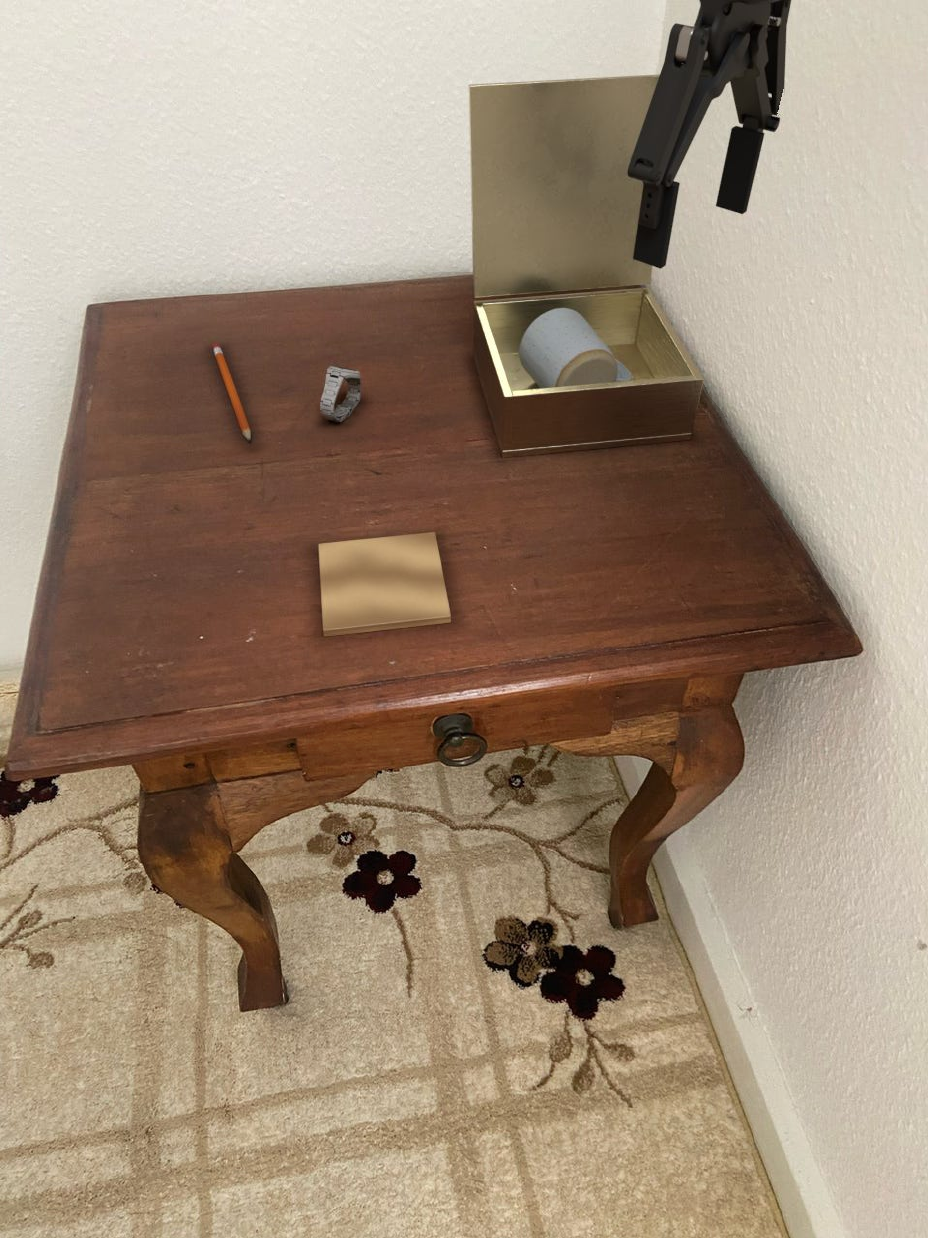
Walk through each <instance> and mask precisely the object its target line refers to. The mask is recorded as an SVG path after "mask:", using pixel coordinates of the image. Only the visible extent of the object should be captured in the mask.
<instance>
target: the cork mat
mask: <svg viewBox="0 0 928 1238" xmlns="http://www.w3.org/2000/svg"><path fill="white" fill-rule="evenodd" d="M317 546H318V561H319V562H318V565H319V581H320V583H319V584H320V599H321V601H320V602H321V619H322V633H323V636H324V637H325V638H326V637H327V638H328V637H335V636H345V635H353V634H361V633H370V632H380V631H389V630H397V629H406V628H415V627H423V626H433V625H442V624H450V623H452V615H451V614H452V613H451V608H450V604H449V603H450V602H449V598H448V592H447V587H446V582H445V578H444V577H445V576H444V571H443V567H442V561H441V556H440V550H439V545H438V540H437V534H436V532H435V531H429V532H419V533H410V534H409V533H408V534H401V535H389V536H382V537H381V536H380V537H379V536H378V537H372V538H371V537H370V538H362V539H351V540H342V541H333V542H324V543H318V545H317Z"/></svg>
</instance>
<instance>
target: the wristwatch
mask: <svg viewBox="0 0 928 1238" xmlns="http://www.w3.org/2000/svg"><path fill="white" fill-rule="evenodd" d="M361 377H362V374H361V372H360V371H358V370H356V369H353V368H347V367H342V366H335V365H330V366H329V367H328V368H326V374H325V383H324V386H323V392H322V394H321V397H320V402H319V411H320V414H321V415H322V417H323V418H325V419H326V420H327V421H334V422H336V423H342V422H344V421H345V420H347V419H349V418H350V416H351V415H352V414H353V412H354V410H355V409H356V408H357V407H358V405H359V403H360V401H361V395H362V387H363V386H362V379H361ZM344 380H345V381H346V387H347V392H346V397H345V398H344V400H343V402H342V403H341V404H336V401H337V398H338V395H339V393H340V390H341V388H342V385H343V383H344ZM335 404H336V406H335Z"/></svg>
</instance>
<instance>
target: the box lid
mask: <svg viewBox="0 0 928 1238" xmlns="http://www.w3.org/2000/svg"><path fill="white" fill-rule="evenodd" d="M659 76H660V73H659V74H643V75H642V74H641V75H622V76H605V77H588V78H587V77H586V78H585V77H584V78H569V79H568V78H566V79H549V80H530V81H528V80H527V81H511V82H509V81H508V82H493V83H491V82H490V83H475V84H474V83H473V84H468V119H469V120H468V121H469V124H468V125H469V163H470V164H469V165H470V166H469V167H470V206H471V208H470V210H471V211H470V212H471V215H470V216H471V253H472V294H473V297H474V298H488V297H501V296H512V295H513V296H514V295H527V294H538V293H540V294H541V293H551V292H565V291H566V292H567V291H578V290H591V289H604V288H606V289H607V288H616V287H618V288H619V287H629V286H630V287H631V286H641V285H642V286H644V285H651V283H652V273H653V266H651V265H648V264H646V263H643V262H640V261H637V260H634V259H633V254H634V247H635V240H636V233H637V226H638V219H639V212H640V205H641V198H642V191H643V181H641V180H637V179H634V178H631V177H629V176H628V174H627V171H628V167H629V164H630V161H631V158H632V155H633V152H634V149H635V146H636V143H637V140H638V137H639V134H640V131H641V129H642V126H643V123H644V120H645V117H646V114H647V111H648V108H649V105H650V102H651V99H652V96H653V94H654V91H655V88H656V85H657V82H658V79H659Z"/></svg>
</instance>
